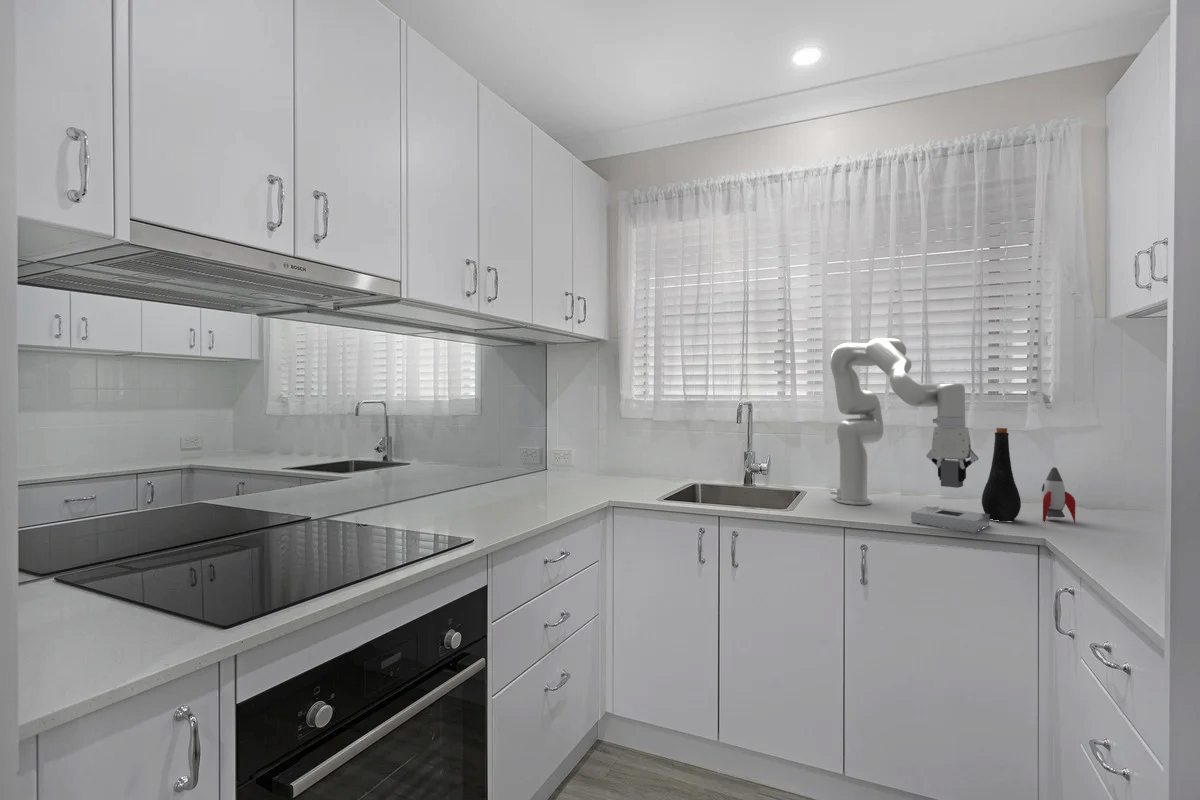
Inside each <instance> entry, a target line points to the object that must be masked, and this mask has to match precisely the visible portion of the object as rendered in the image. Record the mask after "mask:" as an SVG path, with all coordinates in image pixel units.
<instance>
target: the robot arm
mask: <svg viewBox="0 0 1200 800" xmlns="http://www.w3.org/2000/svg"><path fill="white" fill-rule="evenodd" d="M906 353H907V348H906V344H905V343H904V342H903V341H901V340H900V339H898V338H888V337H887V338H886V337H877V338H873V339H871V340H869V341H868V342H867V343H864V342H863V343H861V342H847V343H846V342H845V343H842V344H841V343H840V344H839V345H838V346H836V347H835V348H834V350H833V351H832V353H831V356H830V368H831V369H830V370H831V372H832V376H833V381H834V387H835V393H836V394H835V396H836V403H837V407H838V411H839V412H840V413H841V414H842V415H844V416H859V417H855V418H846V419H843V420H842V421H841V422H840V423H839V424H838V426H837V429H836V431H837V432H836V435H837V439H838V445H839V488H830V490H829V491H830V495H836V497H835V498H834V499H835V500H834V501H836V502H837V503H840V504H843V505H851V506H852V505H853V506H854V505H855V506H865V505H866V506H867V505H870V504H872V503H873V502H872V499H871V498H868V453H867V450H866V447H865V446H864V444H873V443H877V442H880V440H881V439H882V438H883V435H884V424H883V423H884V422H883V416H882V407H881V403H880V399H879V397H878V396H877V394H876V393H875V392H873V391H871V390H865V389H863V390H862V389H861V386H860V380H859V375H857V372H856V371H855V369H854V368H853V366H854V367H855V366H857V367H858V366H859V367H861V366H862V367H863V366H864V367H869V366H871V367H872V366H873V367H874V366H877V367H878V368H879V369H881V371H882V372H883V373H884V374H885V375H887V376H888V377H889V384H890V387H891V390H892V391H893V392H894V393H895V395H897V396H898V397H899V399H901V400H902V401H903V402H904V403H906V404H907V405H908V406H911V407H915V408H916V407H917V408H920V407H921V408H922V407H929V408H931V407H937V409H936V410H937V417H936V418H932V423H933V424H936V426H934V428H933V433H932V441H931V442H932V443H931V449H930V450H929V451H928V453H927V454H926V455H925V457H926V458H927V459H928V460H929V461H931V462H932V463H933V464H934V465H935V466H936V467H937V477H938V478H939V481H941V461H942V460H958V461H959V464H960V469H959V482H963V483H964V482H965V480H966V478H967V468H969V467H970V466H971V465H972V464H973V463H975V462H977V461H978V460H979V457H978V455H977V454H975V452H974V451H973V450H972V444H971V438H970V437H971V436H970V432H969V427H967V426H966V388H965V386H964V384H962V383H942V384H941V383H917V381H915V380H914V379H912V377H910V376H909V375H908V373H909V371H910V370H911V368H912V361H911V360H910V359H909V358H908V357H907V356H906ZM969 458H970V459H969ZM966 459H968V460H966Z"/></svg>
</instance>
